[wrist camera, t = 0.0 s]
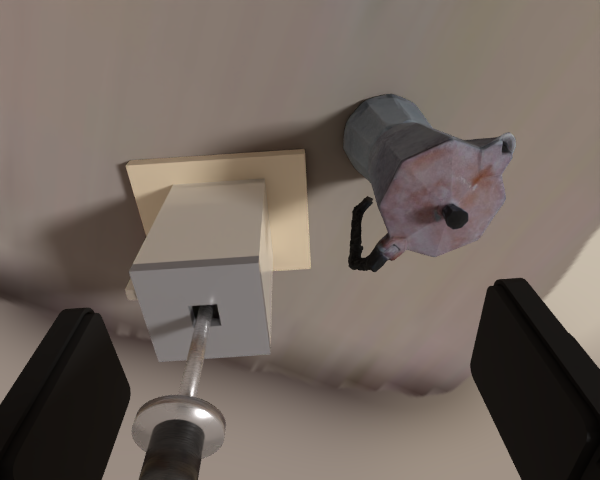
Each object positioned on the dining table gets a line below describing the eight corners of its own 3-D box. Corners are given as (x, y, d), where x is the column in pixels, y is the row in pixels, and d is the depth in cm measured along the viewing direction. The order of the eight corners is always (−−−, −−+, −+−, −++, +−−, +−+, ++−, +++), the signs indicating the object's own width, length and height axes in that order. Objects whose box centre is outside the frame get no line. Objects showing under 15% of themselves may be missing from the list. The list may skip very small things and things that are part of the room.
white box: (129, 160, 46) (58, 248, 31) (304, 148, 46) (315, 231, 31) (161, 271, 54) (116, 383, 39) (310, 261, 54) (321, 369, 39)
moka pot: (465, 110, 45) (579, 193, 28) (365, 212, 51) (408, 332, 34) (403, 48, 41) (488, 101, 24) (303, 166, 47) (316, 273, 30)
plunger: (169, 233, 40) (59, 490, 20) (250, 228, 40) (221, 479, 20) (185, 296, 44) (107, 562, 24) (259, 291, 44) (241, 552, 24)
